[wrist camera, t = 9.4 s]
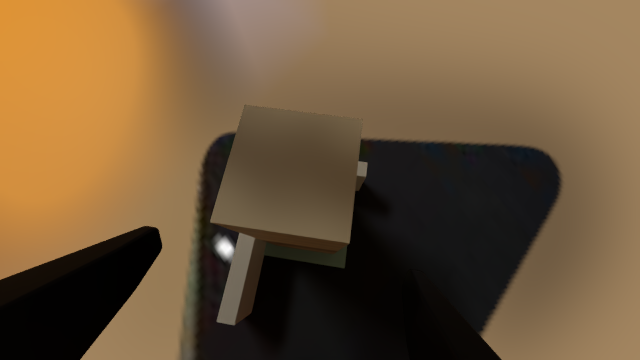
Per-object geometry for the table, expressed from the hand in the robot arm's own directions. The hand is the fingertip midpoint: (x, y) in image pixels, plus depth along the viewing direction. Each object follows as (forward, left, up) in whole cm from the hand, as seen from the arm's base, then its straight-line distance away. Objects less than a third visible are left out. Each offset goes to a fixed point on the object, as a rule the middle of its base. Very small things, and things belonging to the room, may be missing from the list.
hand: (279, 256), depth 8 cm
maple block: (+3, 0, -13) cm, 13 cm away
